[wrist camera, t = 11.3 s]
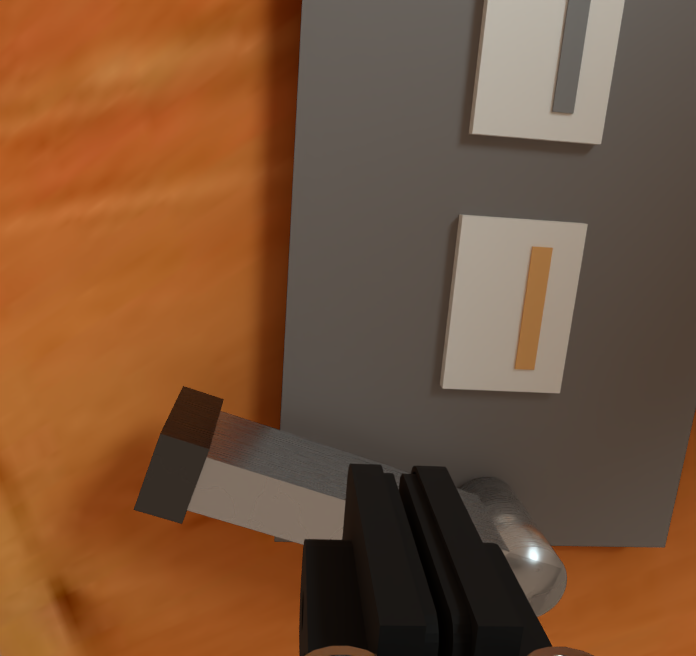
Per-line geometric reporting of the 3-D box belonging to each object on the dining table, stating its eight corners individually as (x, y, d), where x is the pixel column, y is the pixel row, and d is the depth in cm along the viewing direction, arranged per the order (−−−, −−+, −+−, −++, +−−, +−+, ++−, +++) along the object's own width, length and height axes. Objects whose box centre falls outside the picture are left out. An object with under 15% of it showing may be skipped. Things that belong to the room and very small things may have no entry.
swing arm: (164, 441, 26) (132, 512, 20) (188, 375, 25) (161, 430, 20) (499, 546, 28) (547, 633, 23) (528, 488, 28) (583, 564, 22)
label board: (308, -127, 23) (310, -156, 21) (774, -70, 25) (818, -91, 23) (275, 522, 29) (274, 549, 27) (647, 529, 31) (672, 555, 29)
